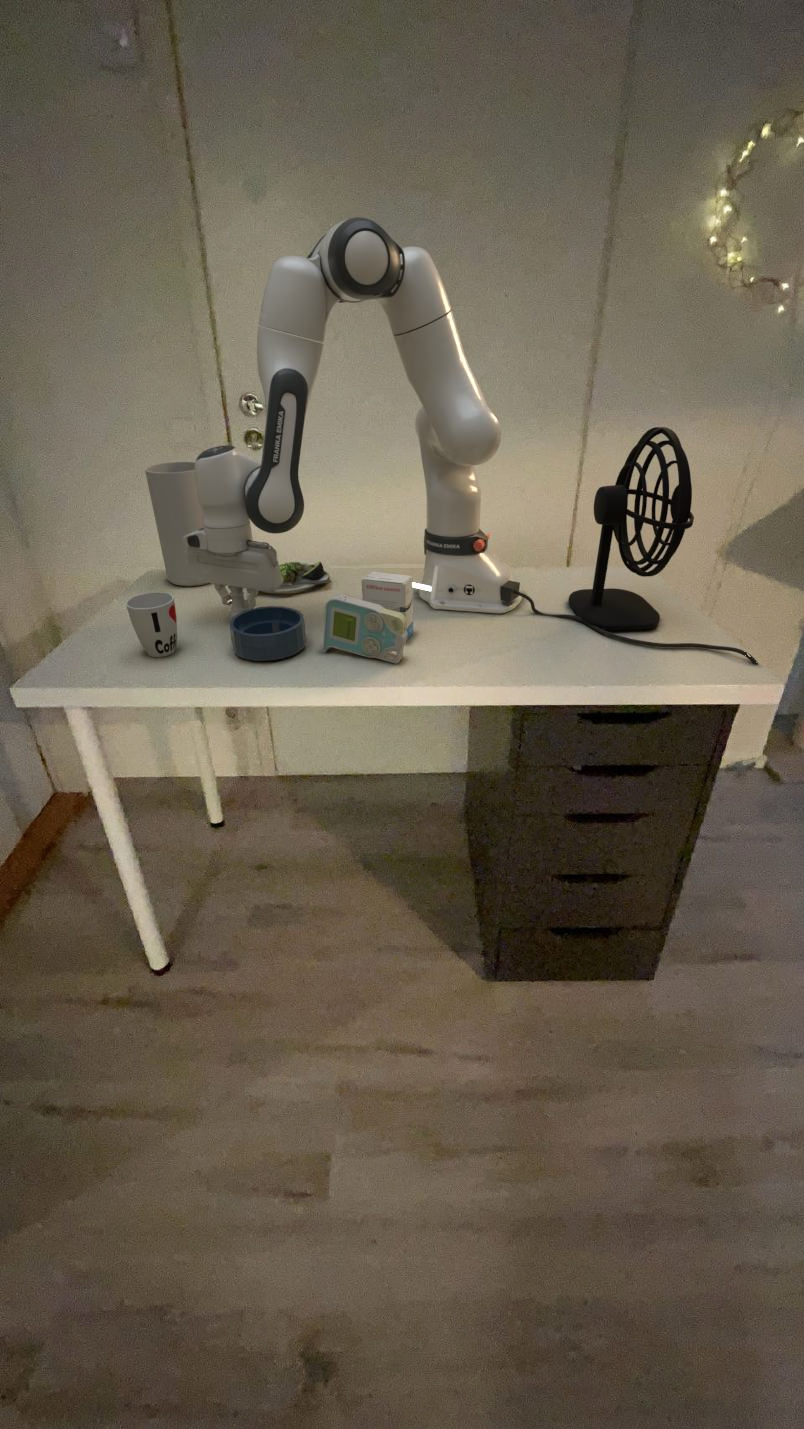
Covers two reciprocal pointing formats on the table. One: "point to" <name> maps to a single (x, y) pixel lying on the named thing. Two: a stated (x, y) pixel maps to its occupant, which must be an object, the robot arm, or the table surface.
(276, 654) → the bowl
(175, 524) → the cylinder vase
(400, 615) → the handheld gaming console
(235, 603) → the rook chess piece
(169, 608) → the cup
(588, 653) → the table surface
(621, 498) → the desk fan
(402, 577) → the ink box
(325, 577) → the salad plate
